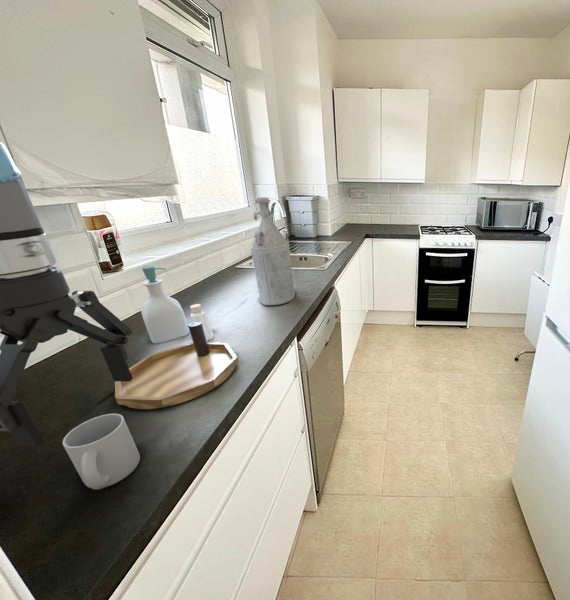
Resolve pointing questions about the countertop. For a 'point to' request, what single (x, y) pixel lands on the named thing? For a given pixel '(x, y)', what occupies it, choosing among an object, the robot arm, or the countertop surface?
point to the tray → (177, 373)
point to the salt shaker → (201, 320)
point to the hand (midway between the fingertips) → (83, 407)
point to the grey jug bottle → (271, 259)
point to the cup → (102, 450)
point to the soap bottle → (162, 311)
